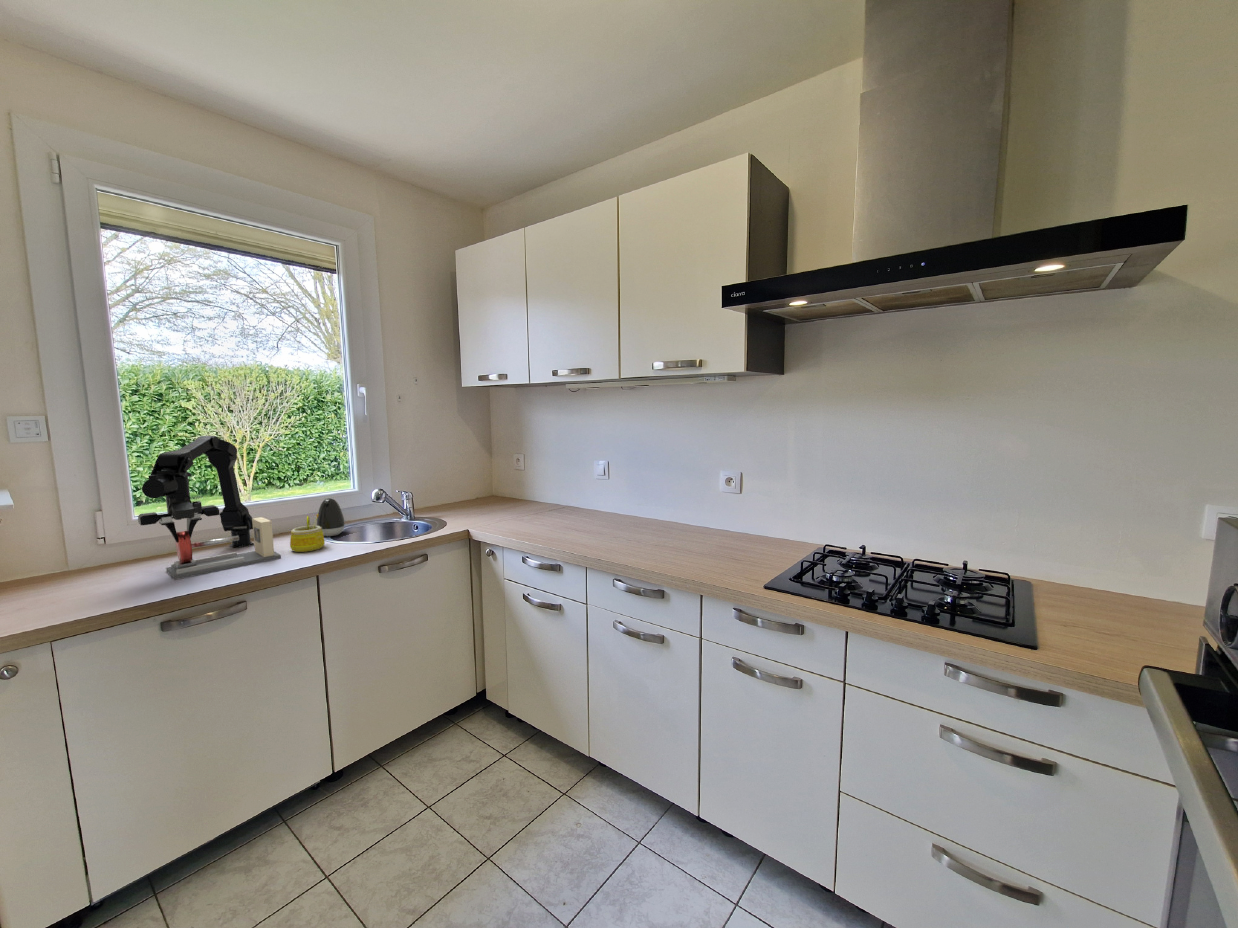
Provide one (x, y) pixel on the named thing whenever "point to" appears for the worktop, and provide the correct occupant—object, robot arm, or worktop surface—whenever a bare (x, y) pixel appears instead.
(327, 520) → the dark grey tall dome
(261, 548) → the block
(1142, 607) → the worktop surface
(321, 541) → the yellow birthday cake
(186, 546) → the red wheel on axle
